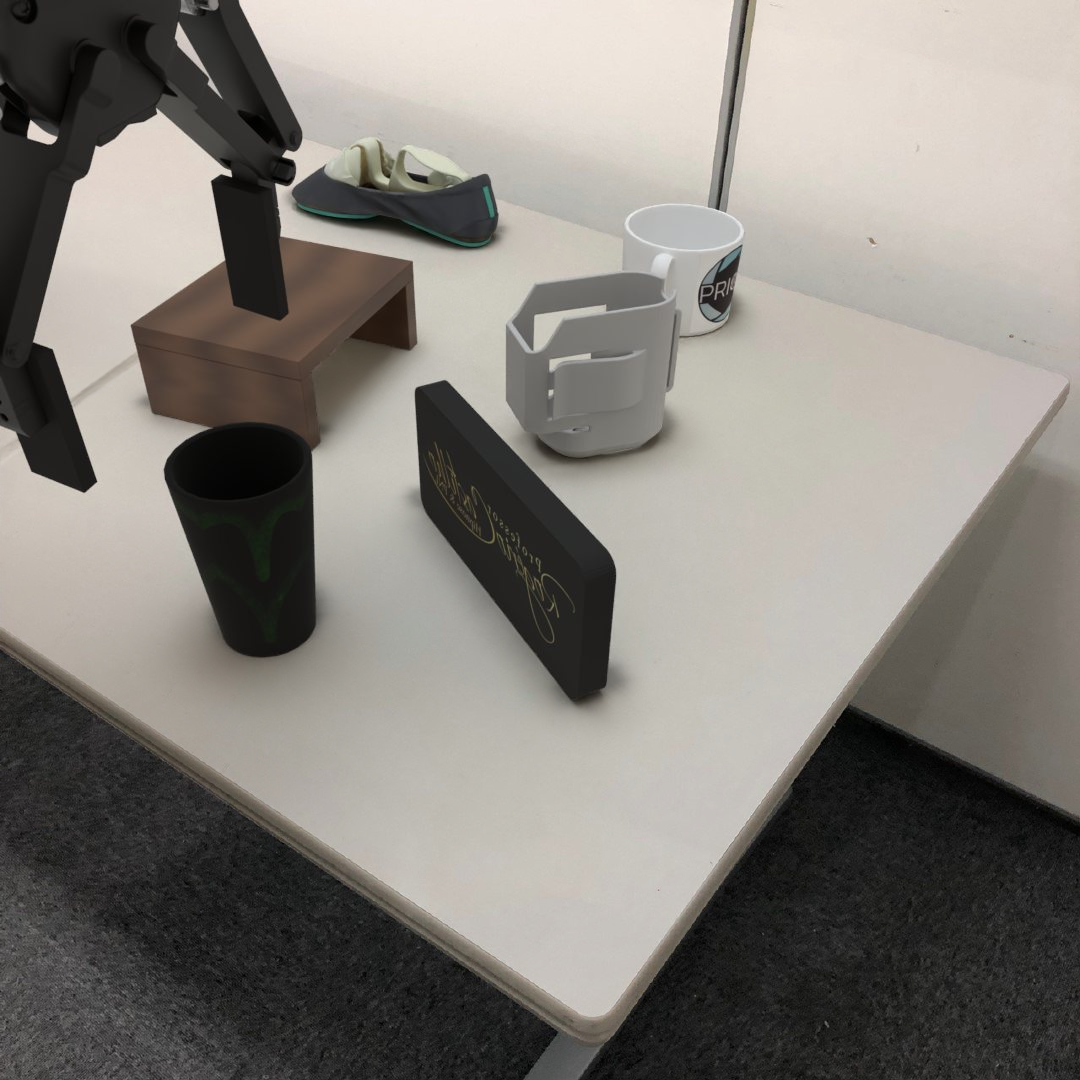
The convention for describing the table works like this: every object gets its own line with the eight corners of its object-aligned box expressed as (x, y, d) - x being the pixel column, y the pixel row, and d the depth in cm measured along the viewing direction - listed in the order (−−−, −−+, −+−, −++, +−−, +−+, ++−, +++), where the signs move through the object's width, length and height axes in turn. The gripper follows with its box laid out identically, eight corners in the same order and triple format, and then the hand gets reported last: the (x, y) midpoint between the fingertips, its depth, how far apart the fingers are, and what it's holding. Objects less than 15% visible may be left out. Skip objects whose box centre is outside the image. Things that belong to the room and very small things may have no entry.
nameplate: (605, 695, 60) (618, 560, 54) (577, 707, 59) (586, 572, 53) (445, 499, 74) (440, 373, 68) (421, 507, 73) (413, 380, 67)
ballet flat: (324, 186, 119) (316, 111, 114) (515, 229, 111) (515, 150, 105) (278, 211, 113) (267, 133, 108) (476, 258, 105) (475, 176, 100)
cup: (252, 569, 68) (221, 408, 60) (357, 602, 65) (338, 440, 58) (176, 647, 62) (131, 481, 55) (288, 686, 60) (257, 518, 52)
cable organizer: (502, 432, 81) (502, 286, 73) (650, 406, 84) (665, 263, 76) (530, 481, 76) (533, 330, 68) (687, 451, 79) (707, 304, 72)
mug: (636, 278, 102) (643, 195, 97) (743, 297, 99) (756, 214, 94) (591, 340, 92) (596, 252, 87) (709, 364, 90) (721, 274, 84)
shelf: (151, 412, 82) (130, 324, 77) (276, 313, 95) (264, 232, 90) (311, 451, 78) (298, 362, 73) (417, 342, 91) (412, 260, 87)
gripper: (-247, -33, 23) (36, 604, 38) (358, -228, 39) (387, 274, 54) (-477, -95, 25) (-120, 535, 40) (190, -256, 41) (264, 237, 56)
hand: (172, 386), depth 47 cm, fingers open, 13 cm apart
